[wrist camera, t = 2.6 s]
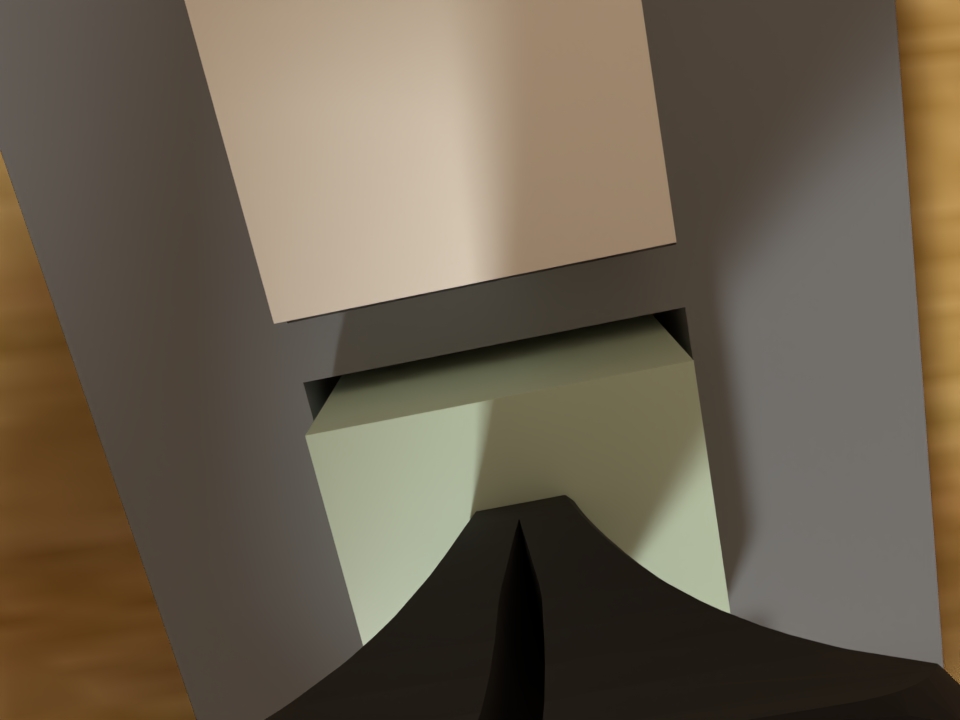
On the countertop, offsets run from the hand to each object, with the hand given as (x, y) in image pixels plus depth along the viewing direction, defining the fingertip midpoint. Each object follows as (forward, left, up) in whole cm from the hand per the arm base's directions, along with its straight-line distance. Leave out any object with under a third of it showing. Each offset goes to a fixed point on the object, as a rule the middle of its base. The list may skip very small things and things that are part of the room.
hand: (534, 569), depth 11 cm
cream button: (+6, 0, -3) cm, 7 cm away
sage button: (0, 0, -3) cm, 3 cm away
